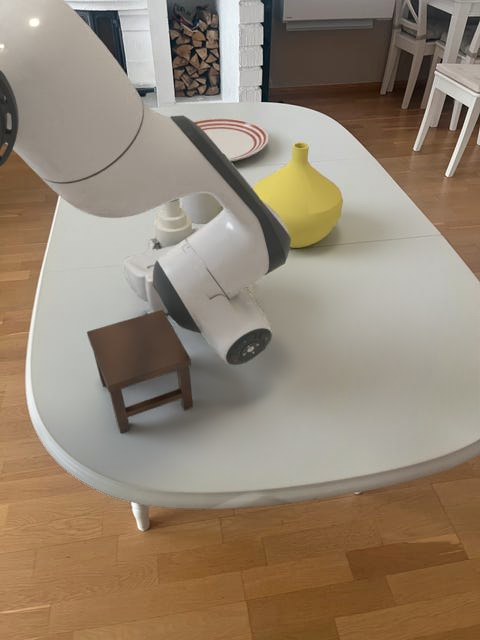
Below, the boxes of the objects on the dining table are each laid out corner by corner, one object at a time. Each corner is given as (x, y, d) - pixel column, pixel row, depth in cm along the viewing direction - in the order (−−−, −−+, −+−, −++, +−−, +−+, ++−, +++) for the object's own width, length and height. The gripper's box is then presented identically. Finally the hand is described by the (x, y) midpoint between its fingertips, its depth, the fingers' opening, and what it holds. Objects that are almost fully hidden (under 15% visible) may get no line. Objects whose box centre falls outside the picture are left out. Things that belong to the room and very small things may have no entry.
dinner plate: (194, 180, 126) (193, 167, 124) (150, 140, 144) (148, 128, 141) (288, 156, 136) (288, 144, 134) (236, 122, 154) (236, 110, 152)
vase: (264, 206, 117) (267, 121, 104) (345, 221, 112) (359, 133, 100) (236, 249, 104) (236, 158, 91) (326, 268, 99) (340, 174, 87)
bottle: (168, 294, 90) (157, 200, 78) (157, 275, 94) (145, 183, 82) (200, 285, 92) (194, 192, 80) (188, 267, 96) (181, 176, 84)
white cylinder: (226, 210, 116) (226, 158, 108) (208, 227, 110) (205, 174, 102) (195, 201, 118) (192, 150, 110) (175, 217, 113) (171, 165, 105)
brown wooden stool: (119, 435, 70) (107, 386, 64) (99, 380, 78) (86, 331, 71) (194, 407, 74) (190, 358, 67) (168, 357, 81) (162, 309, 75)
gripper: (265, 248, 80) (228, 207, 89) (137, 283, 73) (111, 235, 82) (264, 281, 84) (228, 238, 93) (142, 317, 77) (117, 267, 87)
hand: (172, 237), depth 88 cm, fingers closed on bottle, 6 cm apart
